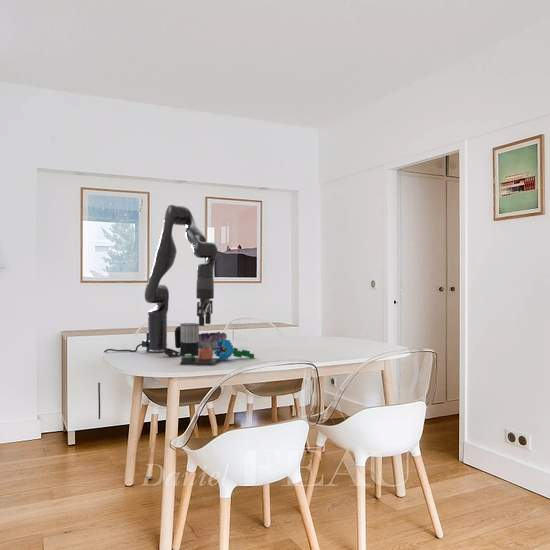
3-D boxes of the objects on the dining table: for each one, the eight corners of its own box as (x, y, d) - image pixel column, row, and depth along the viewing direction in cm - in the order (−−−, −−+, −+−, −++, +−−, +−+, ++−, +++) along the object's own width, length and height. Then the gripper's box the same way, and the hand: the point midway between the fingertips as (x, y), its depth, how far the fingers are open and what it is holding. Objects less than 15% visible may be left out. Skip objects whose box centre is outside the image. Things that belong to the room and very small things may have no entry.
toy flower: (255, 367, 242) (219, 359, 234) (246, 364, 250) (211, 357, 242) (259, 347, 243) (224, 339, 235) (251, 345, 251) (216, 337, 243)
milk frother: (202, 354, 259) (202, 323, 259) (187, 358, 244) (187, 326, 244) (176, 352, 263) (176, 322, 263) (159, 357, 248) (159, 325, 248)
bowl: (196, 360, 231) (196, 349, 231) (200, 358, 237) (200, 348, 237) (209, 360, 229) (209, 350, 229) (214, 358, 235) (214, 348, 235)
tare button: (183, 358, 228) (183, 354, 228) (186, 357, 231) (186, 353, 231) (190, 358, 228) (190, 354, 228) (192, 357, 230) (192, 353, 230)
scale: (179, 364, 227) (179, 357, 227) (189, 360, 239) (189, 353, 239) (211, 366, 224) (211, 358, 224) (220, 361, 236) (220, 354, 236)
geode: (192, 351, 268) (190, 331, 269) (185, 351, 279) (184, 332, 280) (230, 347, 277) (228, 328, 278) (222, 347, 287) (220, 329, 289)
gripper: (202, 287, 241) (201, 323, 242) (191, 288, 227) (190, 326, 228) (218, 287, 240) (217, 323, 240) (208, 288, 226) (207, 326, 226)
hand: (204, 324), depth 234 cm, fingers open, 8 cm apart
